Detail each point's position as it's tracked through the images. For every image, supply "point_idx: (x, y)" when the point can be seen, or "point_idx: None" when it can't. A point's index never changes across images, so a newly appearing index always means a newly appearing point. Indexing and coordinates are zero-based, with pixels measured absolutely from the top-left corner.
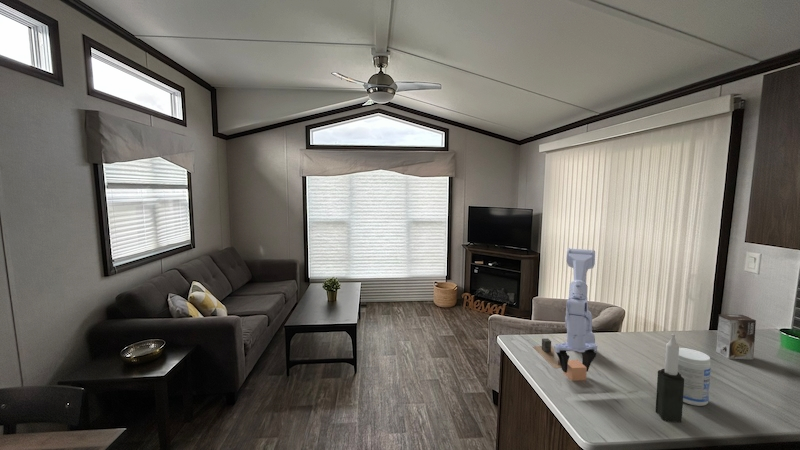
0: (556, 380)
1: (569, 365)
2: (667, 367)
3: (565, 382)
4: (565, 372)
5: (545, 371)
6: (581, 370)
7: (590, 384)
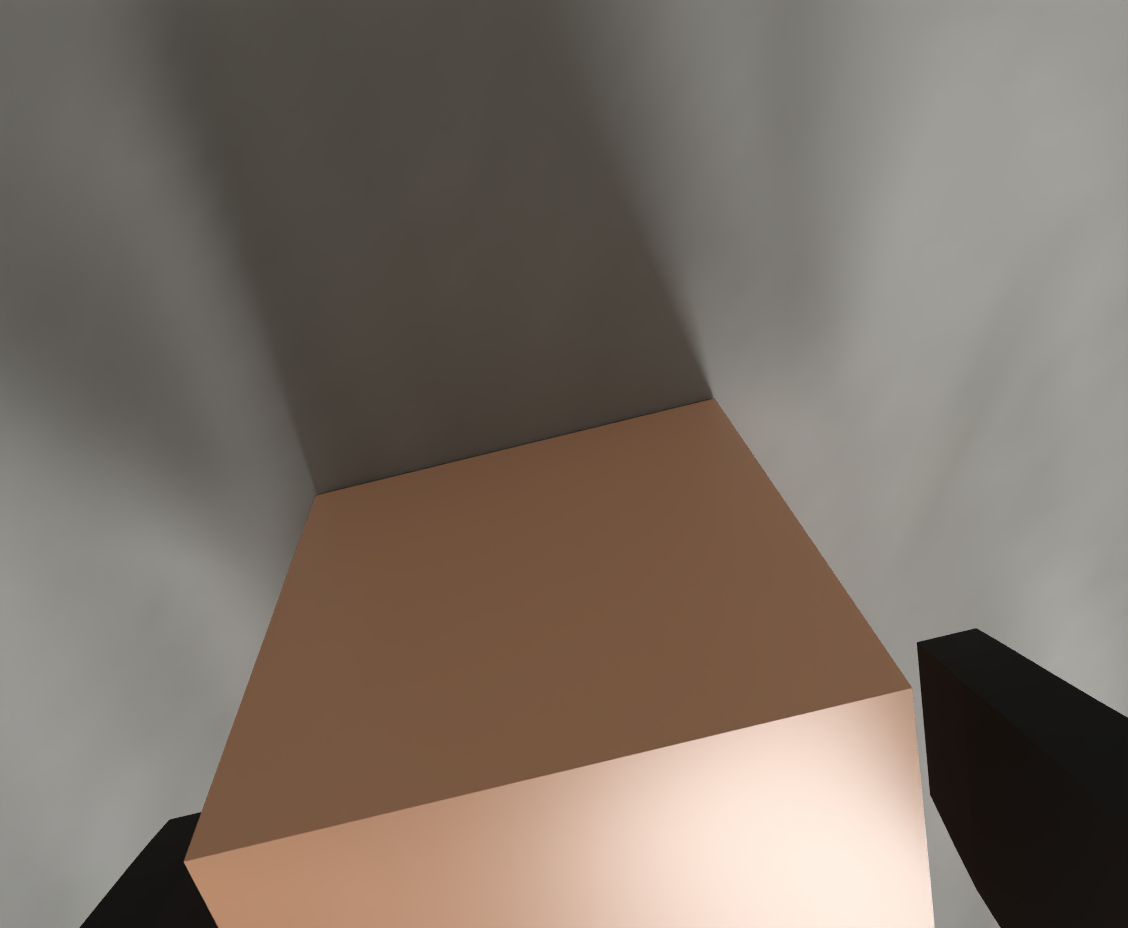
0: (1003, 540)
1: (920, 870)
2: None
3: (821, 487)
4: (964, 631)
5: None
6: (442, 707)
7: (200, 499)
